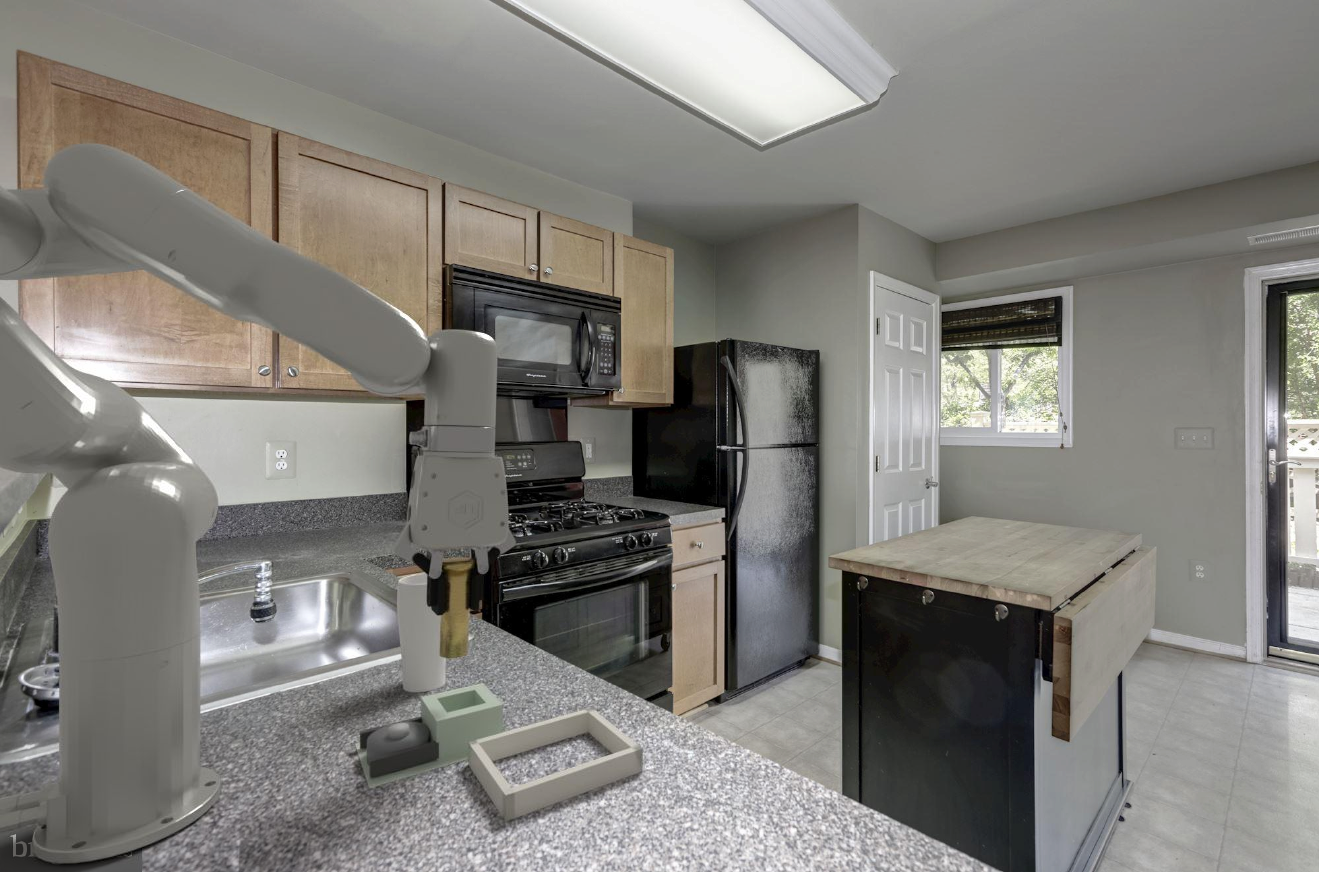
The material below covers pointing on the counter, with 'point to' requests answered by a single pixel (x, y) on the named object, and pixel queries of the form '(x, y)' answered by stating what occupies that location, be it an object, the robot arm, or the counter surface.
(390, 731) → the green socket holder
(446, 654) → the pin
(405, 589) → the drinking glass
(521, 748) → the tray
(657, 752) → the counter surface
